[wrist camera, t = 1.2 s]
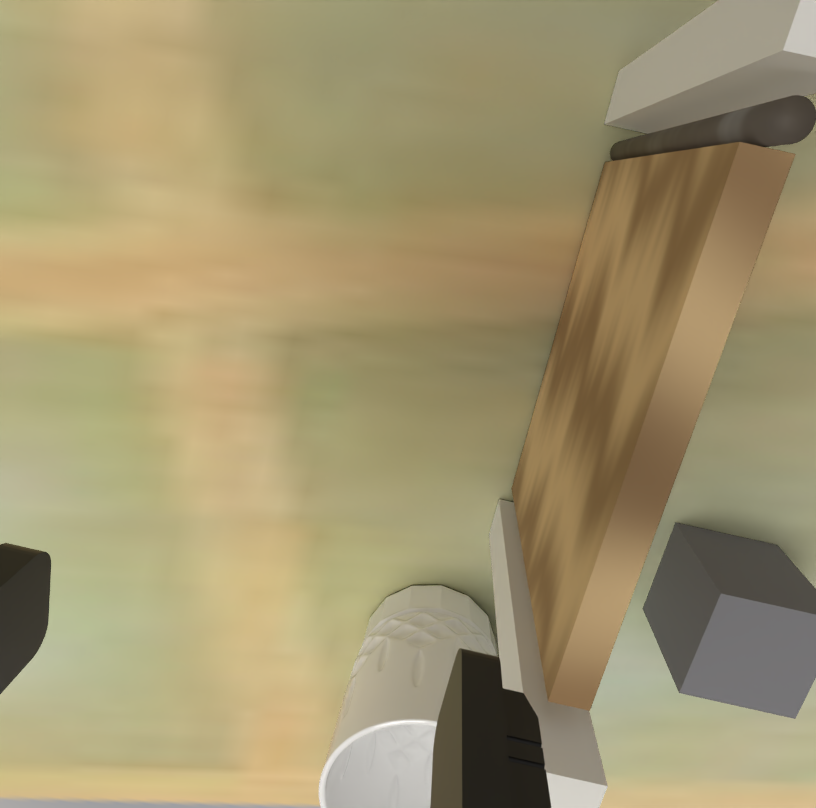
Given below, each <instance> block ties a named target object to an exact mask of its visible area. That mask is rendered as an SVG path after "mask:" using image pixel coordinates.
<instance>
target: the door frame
mask: <svg viewBox="0 0 816 808" xmlns="http://www.w3.org/2000/svg"><path fill="white" fill-rule="evenodd" d="M815 93H816V0H718V1H717V2H715V3H714V4H712V5H711V6H710V7H708V8H707V9H705V10H704V11H703V12H701V13H700V14H698V15H697V16H695V17H694V18H693V19H691V20H690V21H688V22H687V23H686V24H684V25H683V26H681V27H680V28H679V29H677V30H676V31H674V32H673V33H672V34H670V35H669V36H667V37H666V38H664V39H663V40H662V41H660V42H659V43H657V44H656V45H655V46H653V47H652V48H650V49H649V50H648V51H646V52H645V53H643V54H642V55H641V56H639V57H638V58H636V59H635V60H633V61H632V62H631V63H629V64H628V65H626V66H625V67H624V68H622V69H621V70H619V73H618V76H617V80H616V83H615V87H614V90H613V94H612V98H611V101H610V105H609V108H608V112H607V115H606V119H605V123H604V124H605V125H610V126H614V127H619V128H623V129H628V130H633V131H637V132H642V133H646V134H649V133H653V132H657V131H661V130H664V129H668V128H672V127H676V126H679V125H683V124H687V123H691V122H694V121H698V120H702V119H706V118H710V117H713V116H717V115H721V114H725V113H728V112H732V111H736V110H740V109H743V108H747V107H751V106H755V105H758V104H762V103H766V102H770V101H773V100H777V99H781V98H785V97H789V96H793V95H800V96H807V95H811V94H815ZM489 541H490V553H491V565H492V577H493V589H494V601H495V613H496V625H497V637H498V649H499V658H500V663H501V674H502V686H503V688H504V689H508V690H513V691H517V692H521V693H524V695H525V696H526V698H527V700H528V701H529V703H530V705H531V706H532V708H533V710H534V711H535V713H536V715H537V716H538V719H539V726H540V733H541V740H542V745H541V748H543V754H544V761H545V767H544V769H545V770H546V774H547V781H548V788H549V795H550V802H551V808H599V807H600V804H601V802H602V799H603V797H604V794H605V792H606V789H607V787H608V786H607V782H606V778H605V774H604V769H603V765H602V761H601V757H600V753H599V749H598V745H597V741H596V737H595V733H594V729H593V725H592V721H591V717H590V713H589V711H588V710H584V709H579V708H575V707H570V706H566V705H561V704H557V703H552V702H548V699H547V693H546V687H545V681H544V676H543V670H542V664H541V658H540V652H539V646H538V640H537V635H536V629H535V623H534V617H533V611H532V605H531V599H530V593H529V588H528V582H527V576H526V570H525V564H524V558H523V552H522V547H521V541H520V535H519V529H518V523H517V517H516V511H515V506H514V502H510V501H505V500H501V499H499V501H498V504H497V508H496V511H495V515H494V519H493V522H492V526H491V529H490V533H489Z"/></svg>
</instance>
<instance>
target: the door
mask: <svg viewBox="0 0 816 808" xmlns="http://www.w3.org/2000/svg"><path fill="white" fill-rule="evenodd" d="M815 121H816V110H815V107H814V105H813V103H812V102H811V101H810V100H809V99H808V98H806V97H804V96H800V95H793V96H789V97H785V98H781V99H777V100H773V101H770V102H766V103H762V104H758V105H755V106H751V107H747V108H743V109H740V110H736V111H732V112H728V113H725V114H721V115H717V116H713V117H710V118H706V119H702V120H698V121H694V122H691V123H687V124H683V125H679V126H676V127H672V128H668V129H664V130H661V131H657V132H653V133H649V134H646V135H642V136H638V137H634V138H630V139H627V140H623V141H619V142H617V143H615V144H614V145H613V147H612V148H611V151H610V157H611V159H612V161H609V162H605V164H604V167H603V171H602V174H601V178H600V181H599V185H598V188H597V192H596V195H595V199H594V202H593V206H592V209H591V213H590V216H589V220H588V223H587V227H586V230H585V234H584V237H583V241H582V244H581V248H580V251H579V255H578V258H577V262H576V265H575V269H574V272H573V276H572V279H571V283H570V286H569V290H568V293H567V297H566V300H565V304H564V307H563V311H562V314H561V318H560V321H559V325H558V328H557V332H556V335H555V339H554V342H553V346H552V349H551V353H550V356H549V360H548V363H547V367H546V370H545V374H544V377H543V381H542V384H541V388H540V391H539V395H538V398H537V402H536V405H535V409H534V412H533V416H532V419H531V423H530V426H529V430H528V433H527V437H526V440H525V444H524V447H523V451H522V454H521V458H520V461H519V465H518V468H517V472H516V475H515V479H514V482H513V486H512V494H513V500H514V506H515V511H516V517H517V523H518V529H519V535H520V541H521V547H522V552H523V558H524V564H525V570H526V576H527V582H528V588H529V593H530V599H531V605H532V611H533V617H534V623H535V629H536V635H537V640H538V646H539V652H540V658H541V664H542V670H543V676H544V681H545V687H546V693H547V699H548V702H552V703H557V704H561V705H566V706H570V707H575V708H579V709H584V710H588V711H590V709H591V706H592V703H593V700H594V698H595V695H596V692H597V690H598V687H599V684H600V682H601V679H602V676H603V673H604V671H605V668H606V665H607V663H608V660H609V657H610V654H611V652H612V649H613V646H614V644H615V641H616V638H617V636H618V633H619V630H620V627H621V625H622V622H623V619H624V617H625V614H626V611H627V609H628V606H629V603H630V600H631V598H632V595H633V592H634V590H635V587H636V584H637V581H638V579H639V576H640V573H641V571H642V568H643V565H644V563H645V560H646V557H647V554H648V552H649V549H650V546H651V544H652V541H653V538H654V535H655V533H656V530H657V527H658V525H659V522H660V519H661V517H662V514H663V511H664V508H665V506H666V503H667V500H668V498H669V495H670V492H671V489H672V487H673V484H674V481H675V479H676V476H677V473H678V471H679V468H680V465H681V462H682V460H683V457H684V454H685V452H686V449H687V446H688V444H689V441H690V438H691V435H692V433H693V430H694V427H695V425H696V422H697V419H698V416H699V414H700V411H701V408H702V406H703V403H704V400H705V398H706V395H707V392H708V389H709V387H710V384H711V381H712V379H713V376H714V373H715V370H716V368H717V365H718V362H719V360H720V357H721V354H722V352H723V349H724V346H725V343H726V341H727V338H728V335H729V333H730V330H731V327H732V325H733V322H734V319H735V316H736V314H737V311H738V308H739V306H740V303H741V300H742V297H743V295H744V292H745V289H746V287H747V284H748V281H749V279H750V276H751V273H752V270H753V268H754V265H755V262H756V260H757V257H758V254H759V251H760V249H761V246H762V243H763V241H764V238H765V235H766V233H767V230H768V227H769V224H770V222H771V219H772V216H773V214H774V211H775V208H776V205H777V203H778V200H779V197H780V195H781V192H782V189H783V187H784V184H785V181H786V178H787V176H788V173H789V170H790V168H791V165H792V162H793V160H794V157H795V154H793V153H788V152H784V151H779V150H775V149H770V148H766V147H769V146H777V145H786V144H793V143H797V142H799V141H801V140H803V139H804V138H805V137H806V136H807V135H808V134H809V133H810V132H811V130H812V129H813V127H814V124H815Z"/></svg>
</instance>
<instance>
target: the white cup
mask: <svg viewBox="0 0 816 808" xmlns="http://www.w3.org/2000/svg"><path fill="white" fill-rule="evenodd" d="M459 648H462V649H466V650H471V651H475V652H480V653H484V654H488V655H493V656H497V657H498V655H497V648H496V641H495V638H494V634H493V631H492V628H491V624H490V621H489V618H488V615H487V614H486V613H485V612H484V611H483V610H482V609H481V608H480V607H479V606H478V605H477V604H476V603H475V602H474V601H473V600H472V599H471V598H470V597H469V596H467V595H465V594H462V593H460V592H457V591H455V590H452V589H449V588H447V587H444V586H442V585H426V586H410V587H408V588H406V589H404V590H401V591H399V592H397V593H395V594H393V595H390V596H388V597H386V598H385V600H384V601H383V602H382V603H381V605H380V606H379V607H378V608H377V609H376V611H375V612H374V613H373V614H372V616H371V617H370V619H369V622H368V626H367V630H366V634H365V637H364V641H363V644H362V647H361V649H360V651H359V654H358V656H357V658H356V660H355V664H354V667H353V670H352V673H351V676H350V680H349V682H348V684H347V688H346V691H345V695H344V698H343V702H342V705H341V709H340V712H339V716H338V719H337V723H336V726H335V730H334V733H333V736H332V740H331V743H330V747H329V750H328V753H327V757H326V760H325V764H324V767H323V770H322V774H321V777H320V782H319V801H320V807H321V808H430V805H431V784H432V763H433V746H434V738H435V731H436V726H437V721H438V716H439V713H440V709H441V706H442V702H443V699H444V695H445V692H446V688H447V685H448V681H449V678H450V674H451V671H452V668H453V664H454V661H455V657H456V654H457V652H458V650H459Z"/></svg>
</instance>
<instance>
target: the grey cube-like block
mask: <svg viewBox="0 0 816 808" xmlns="http://www.w3.org/2000/svg"><path fill="white" fill-rule="evenodd" d="M643 610H644V613H645V615H646V617H647V620H648V622H649V624H650V626H651V629H652V631H653V633H654V636H655V638H656V640H657V643H658V645H659V647H660V650H661V652H662V654H663V657H664V659H665V661H666V663H667V666H668V668H669V670H670V673H671V675H672V677H673V680H674V682H675V684H676V687H677V689H678V691H679V693H682V694H687V695H691V696H696V697H700V698H705V699H709V700H714V701H718V702H722V703H727V704H731V705H736V706H740V707H745V708H749V709H754V710H758V711H763V712H767V713H772V714H776V715H781V716H785V717H790V718H794V719H795V718H796V716H797V714H798V712H799V710H800V708H801V706H802V704H803V702H804V700H805V698H806V696H807V694H808V692H809V690H810V688H811V686H812V684H813V682H814V680H815V678H816V589H815V588H814V586H813V585H812V584H811V583H810V582H809V581H808V580H807V578H806V577H805V576H804V575H803V574H802V573H801V572H800V571H799V569H798V568H797V567H796V566H795V565H794V564H793V563H792V561H791V560H790V559H789V558H788V557H787V556H786V555H785V553H784V552H783V551H782V550H781V549H780V548H779V547H778V546H777V545H775V544H770V543H766V542H761V541H757V540H752V539H748V538H743V537H739V536H734V535H730V534H725V533H721V532H716V531H712V530H707V529H703V528H698V527H694V526H689V525H685V524H680V523H676V522H675V525H674V528H673V530H672V533H671V536H670V538H669V541H668V544H667V546H666V549H665V551H664V554H663V557H662V559H661V562H660V565H659V567H658V570H657V573H656V575H655V578H654V580H653V583H652V586H651V588H650V591H649V594H648V596H647V599H646V602H645V604H644V607H643Z"/></svg>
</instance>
